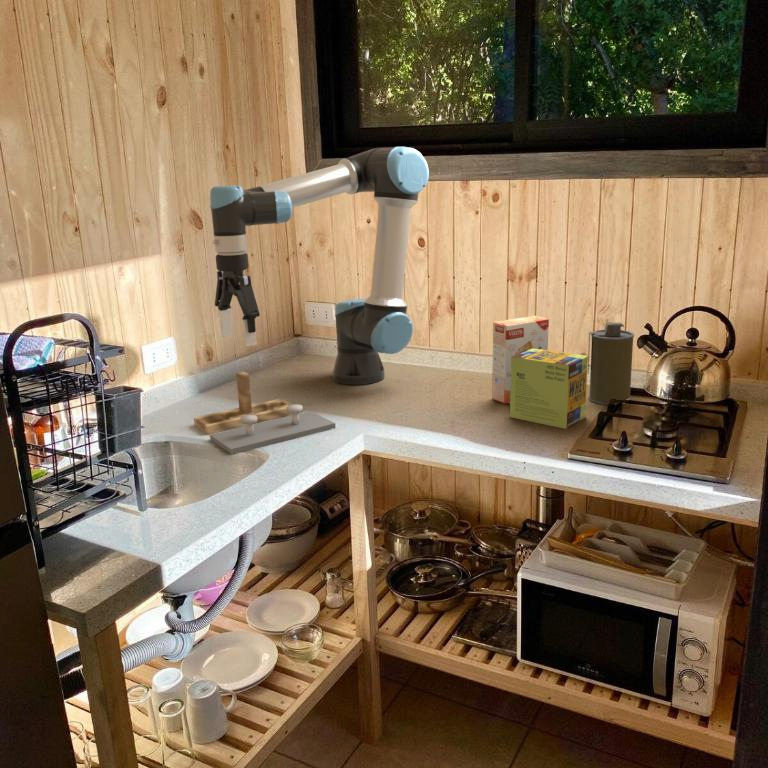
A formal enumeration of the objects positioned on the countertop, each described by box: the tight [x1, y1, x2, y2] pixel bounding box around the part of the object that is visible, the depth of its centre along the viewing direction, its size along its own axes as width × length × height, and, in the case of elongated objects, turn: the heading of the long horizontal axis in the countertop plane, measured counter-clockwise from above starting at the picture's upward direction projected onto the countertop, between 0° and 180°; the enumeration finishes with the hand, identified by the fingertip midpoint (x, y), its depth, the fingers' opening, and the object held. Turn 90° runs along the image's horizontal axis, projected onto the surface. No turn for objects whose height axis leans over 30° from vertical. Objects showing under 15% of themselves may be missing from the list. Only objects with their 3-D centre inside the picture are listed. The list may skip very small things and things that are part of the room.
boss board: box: [209, 404, 336, 455], centre depth 189 cm, size 27×12×5 cm, turn 125°
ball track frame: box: [193, 371, 294, 436], centre depth 199 cm, size 24×9×12 cm, turn 125°
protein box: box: [509, 349, 588, 430], centre depth 192 cm, size 10×15×16 cm
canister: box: [587, 321, 635, 406], centre depth 203 cm, size 11×10×20 cm
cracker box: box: [491, 315, 550, 405], centre depth 207 cm, size 14×6×21 cm, turn 119°
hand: (239, 340), depth 194 cm, fingers open, 13 cm apart
